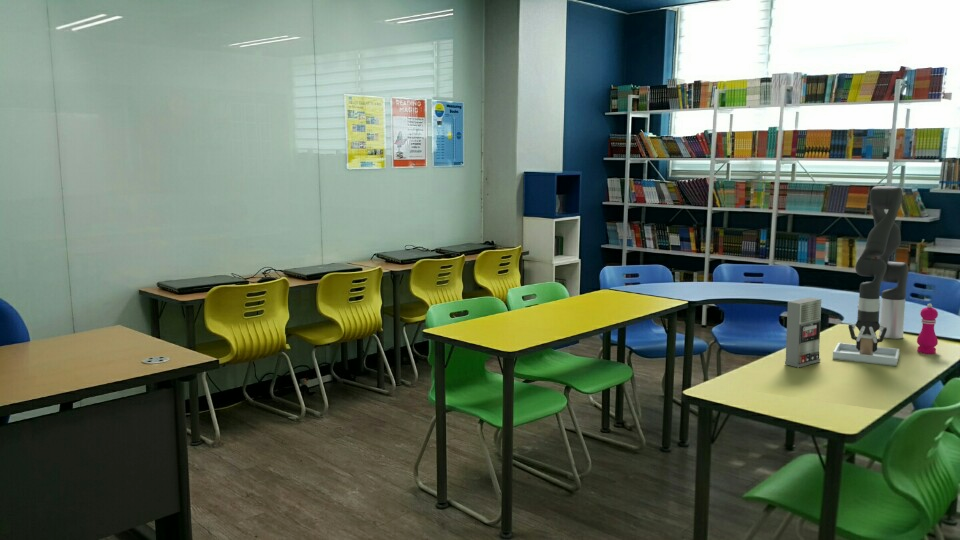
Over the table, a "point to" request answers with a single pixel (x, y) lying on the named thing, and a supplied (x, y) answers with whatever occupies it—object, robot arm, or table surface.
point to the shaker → (866, 344)
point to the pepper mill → (928, 331)
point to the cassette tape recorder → (803, 332)
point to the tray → (879, 356)
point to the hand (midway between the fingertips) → (866, 350)
